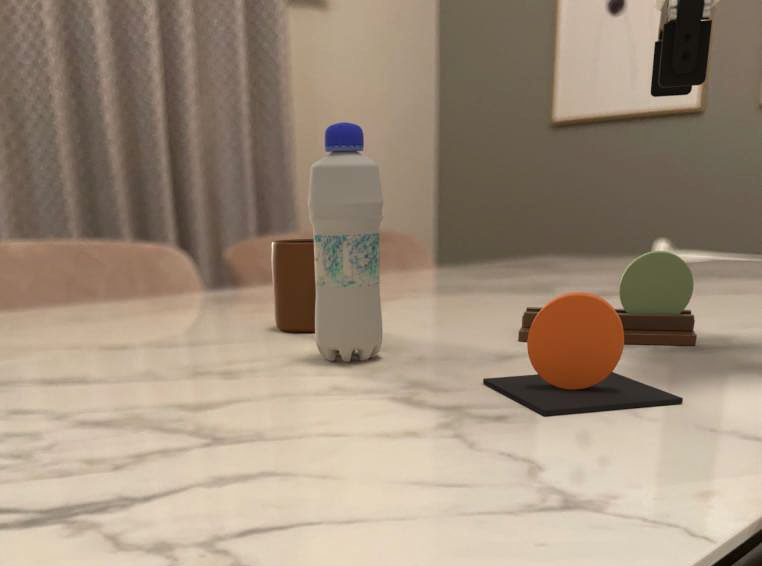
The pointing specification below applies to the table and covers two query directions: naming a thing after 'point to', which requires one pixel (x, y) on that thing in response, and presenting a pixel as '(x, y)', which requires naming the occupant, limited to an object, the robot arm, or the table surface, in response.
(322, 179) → the bottle
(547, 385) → the mat
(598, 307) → the orange disc
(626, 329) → the disc rack
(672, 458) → the table surface
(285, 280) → the mug
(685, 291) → the green disc
